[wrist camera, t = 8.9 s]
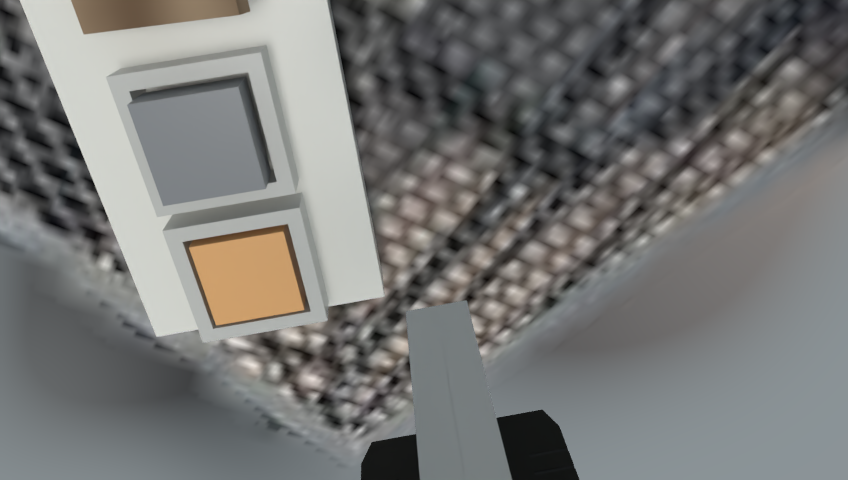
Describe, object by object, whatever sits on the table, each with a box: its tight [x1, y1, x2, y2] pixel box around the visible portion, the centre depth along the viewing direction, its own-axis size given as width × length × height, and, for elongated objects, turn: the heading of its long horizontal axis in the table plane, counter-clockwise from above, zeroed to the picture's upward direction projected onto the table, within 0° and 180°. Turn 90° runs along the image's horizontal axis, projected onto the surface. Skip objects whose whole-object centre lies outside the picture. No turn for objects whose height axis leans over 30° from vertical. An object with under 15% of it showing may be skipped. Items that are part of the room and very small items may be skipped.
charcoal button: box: [127, 76, 271, 206], centre depth 30 cm, size 5×5×2 cm
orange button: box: [189, 224, 306, 326], centre depth 35 cm, size 5×5×2 cm
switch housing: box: [20, 0, 385, 343], centre depth 32 cm, size 14×24×5 cm, turn 8°
